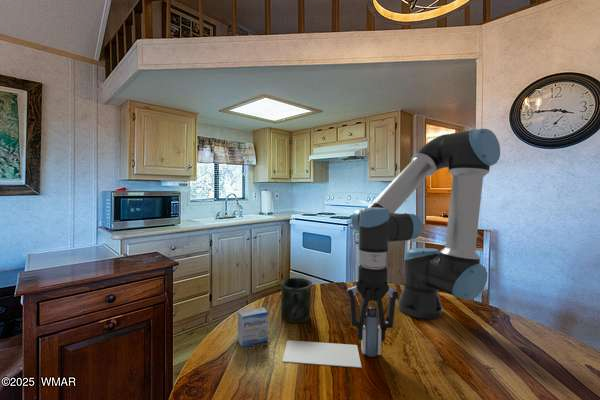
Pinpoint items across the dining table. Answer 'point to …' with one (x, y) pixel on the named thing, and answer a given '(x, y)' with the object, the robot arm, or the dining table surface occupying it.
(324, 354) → the paper
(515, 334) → the dining table surface
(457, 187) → the robot arm
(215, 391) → the dining table surface
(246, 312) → the medicine box
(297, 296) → the mug
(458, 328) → the dining table surface
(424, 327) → the dining table surface
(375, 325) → the marker
